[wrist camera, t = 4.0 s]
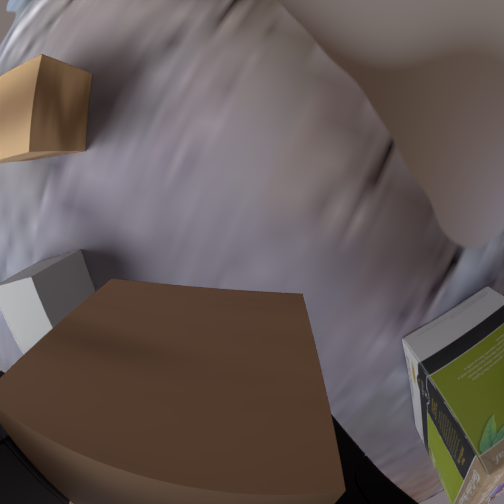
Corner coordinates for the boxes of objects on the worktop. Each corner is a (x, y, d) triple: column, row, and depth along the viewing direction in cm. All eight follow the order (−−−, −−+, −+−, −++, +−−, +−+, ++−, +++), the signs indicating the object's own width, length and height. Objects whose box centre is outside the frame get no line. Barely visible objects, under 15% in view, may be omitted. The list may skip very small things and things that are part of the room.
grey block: (107, 318, 20) (69, 359, 15) (61, 322, 21) (24, 357, 15) (81, 248, 19) (31, 276, 13) (37, 262, 19) (-8, 287, 14)
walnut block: (281, 423, 10) (282, 555, 4) (140, 405, 10) (89, 516, 4) (302, 293, 8) (345, 490, 2) (111, 278, 8) (-18, 396, 3)
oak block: (86, 151, 17) (28, 151, 11) (34, 160, 17) (-19, 165, 11) (93, 74, 15) (41, 54, 9) (40, 91, 15) (-10, 83, 9)
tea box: (483, 383, 21) (538, 465, 7) (413, 425, 23) (452, 525, 9) (487, 279, 18) (599, 369, 4) (397, 334, 19) (483, 486, 5)
